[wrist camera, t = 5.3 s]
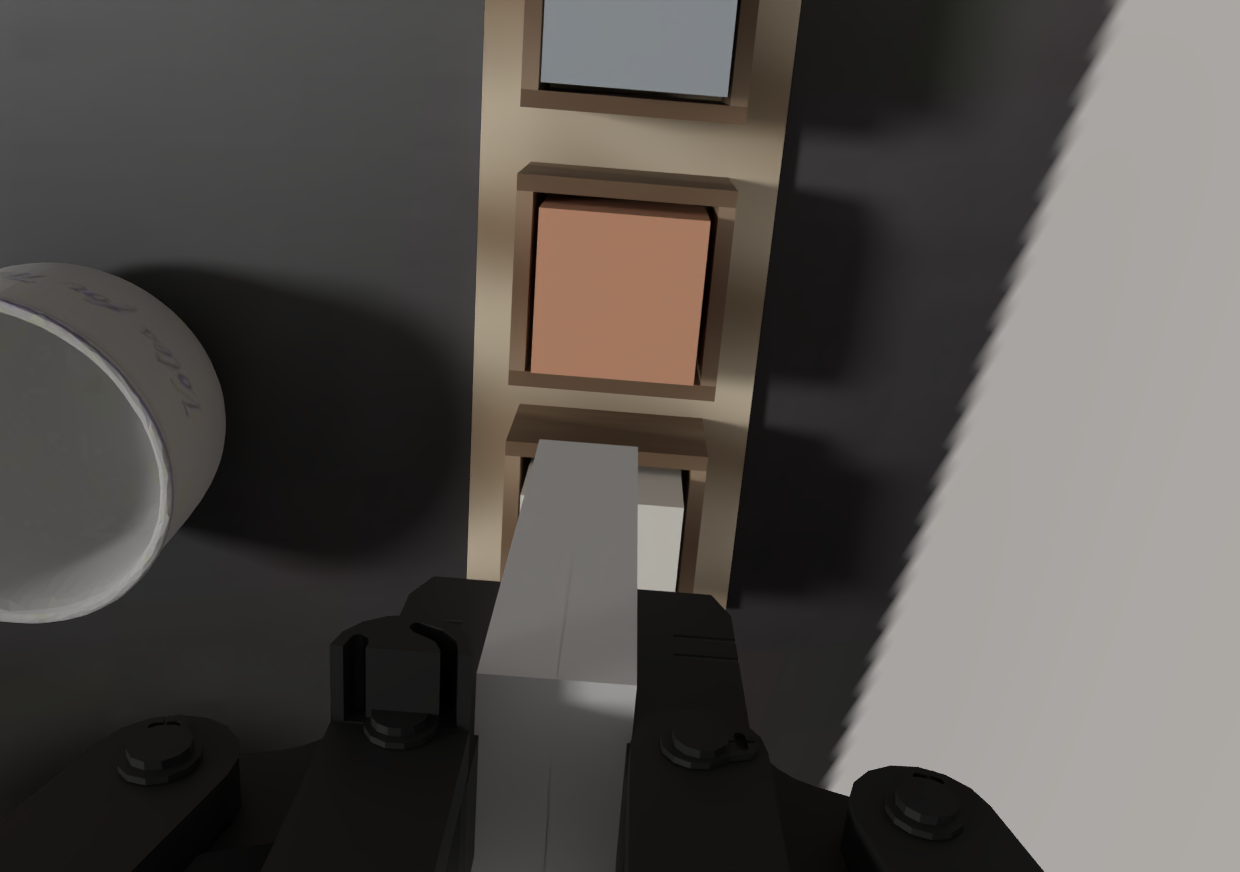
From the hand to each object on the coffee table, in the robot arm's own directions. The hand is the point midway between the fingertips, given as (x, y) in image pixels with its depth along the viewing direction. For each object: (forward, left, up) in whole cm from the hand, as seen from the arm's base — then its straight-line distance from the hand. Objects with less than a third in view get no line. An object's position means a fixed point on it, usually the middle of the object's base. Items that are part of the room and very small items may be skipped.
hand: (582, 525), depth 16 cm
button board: (0, 0, -22) cm, 22 cm away
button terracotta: (0, 0, -20) cm, 20 cm away
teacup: (-18, +10, -22) cm, 30 cm away
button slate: (+6, +6, -19) cm, 21 cm away
